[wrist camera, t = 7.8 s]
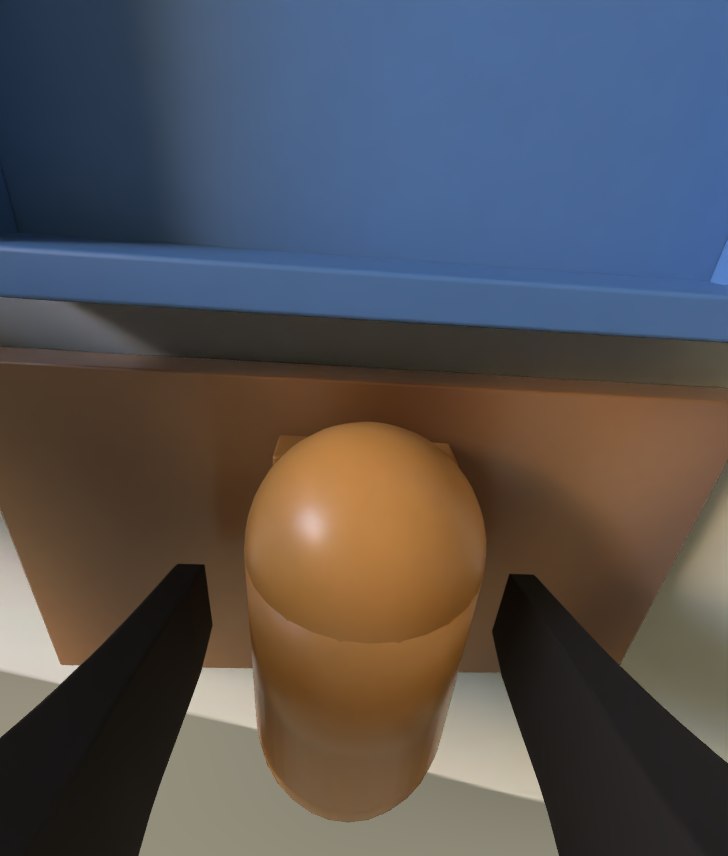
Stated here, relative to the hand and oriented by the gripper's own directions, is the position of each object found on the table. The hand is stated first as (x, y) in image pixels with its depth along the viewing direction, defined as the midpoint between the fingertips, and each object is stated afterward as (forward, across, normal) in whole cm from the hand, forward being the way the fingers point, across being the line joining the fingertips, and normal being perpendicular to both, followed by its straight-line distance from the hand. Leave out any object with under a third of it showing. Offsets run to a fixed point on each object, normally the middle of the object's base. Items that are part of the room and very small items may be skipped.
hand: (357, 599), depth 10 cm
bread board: (+2, 0, 0) cm, 2 cm away
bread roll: (+2, 0, 0) cm, 2 cm away
